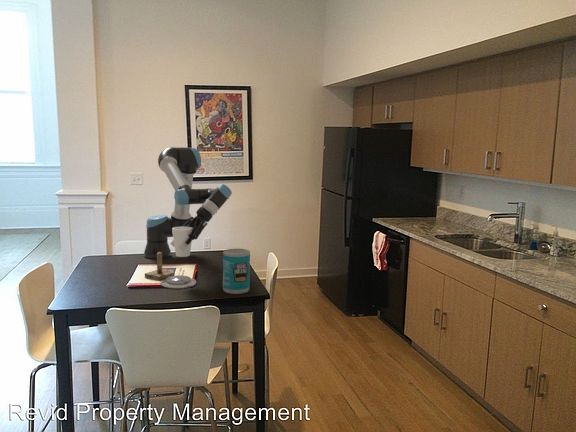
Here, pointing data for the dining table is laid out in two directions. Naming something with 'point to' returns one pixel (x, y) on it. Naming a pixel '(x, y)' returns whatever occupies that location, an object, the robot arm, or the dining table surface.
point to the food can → (236, 271)
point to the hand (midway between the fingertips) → (176, 247)
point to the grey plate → (178, 282)
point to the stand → (159, 271)
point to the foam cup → (181, 240)
